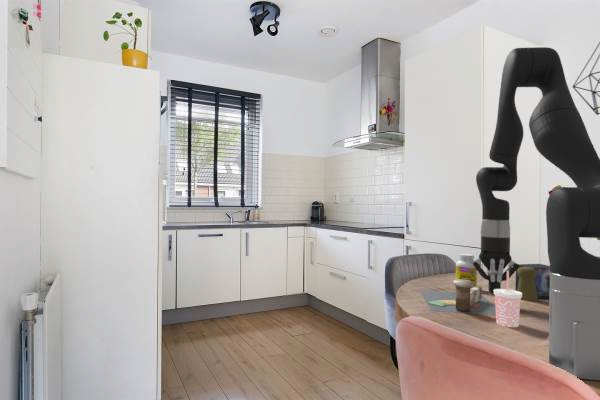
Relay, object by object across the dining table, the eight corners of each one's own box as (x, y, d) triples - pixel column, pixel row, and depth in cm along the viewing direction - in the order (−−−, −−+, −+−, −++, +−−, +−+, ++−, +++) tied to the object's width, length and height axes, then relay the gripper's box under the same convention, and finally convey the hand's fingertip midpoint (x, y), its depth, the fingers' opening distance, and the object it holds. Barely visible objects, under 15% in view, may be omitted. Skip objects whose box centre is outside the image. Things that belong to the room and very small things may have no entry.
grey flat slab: (507, 320, 94) (507, 314, 94) (431, 314, 98) (431, 309, 98) (480, 297, 118) (480, 292, 118) (419, 293, 121) (419, 289, 121)
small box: (531, 300, 116) (531, 267, 116) (514, 295, 122) (514, 264, 122) (556, 298, 118) (557, 266, 118) (538, 293, 125) (539, 263, 125)
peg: (469, 312, 95) (469, 283, 95) (450, 309, 98) (451, 281, 98) (487, 300, 108) (487, 274, 108) (470, 297, 111) (470, 272, 111)
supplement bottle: (456, 292, 124) (457, 255, 124) (454, 288, 130) (454, 252, 130) (478, 294, 122) (478, 256, 122) (474, 290, 128) (475, 253, 128)
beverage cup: (487, 326, 89) (487, 269, 90) (504, 323, 92) (504, 268, 92) (510, 334, 84) (511, 273, 84) (527, 331, 86) (528, 272, 86)
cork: (541, 306, 109) (542, 269, 109) (519, 304, 110) (520, 268, 110) (533, 300, 115) (533, 266, 115) (512, 299, 116) (512, 265, 116)
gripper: (474, 235, 104) (473, 296, 104) (525, 237, 101) (524, 299, 101) (467, 233, 111) (466, 289, 111) (515, 234, 109) (514, 292, 109)
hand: (494, 294), depth 106 cm, fingers closed
